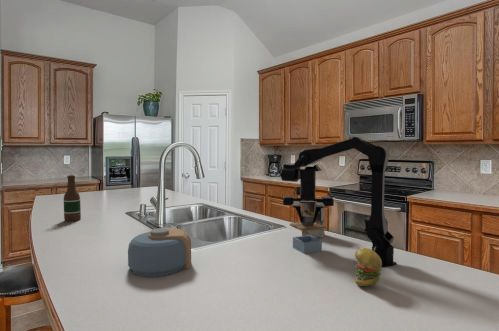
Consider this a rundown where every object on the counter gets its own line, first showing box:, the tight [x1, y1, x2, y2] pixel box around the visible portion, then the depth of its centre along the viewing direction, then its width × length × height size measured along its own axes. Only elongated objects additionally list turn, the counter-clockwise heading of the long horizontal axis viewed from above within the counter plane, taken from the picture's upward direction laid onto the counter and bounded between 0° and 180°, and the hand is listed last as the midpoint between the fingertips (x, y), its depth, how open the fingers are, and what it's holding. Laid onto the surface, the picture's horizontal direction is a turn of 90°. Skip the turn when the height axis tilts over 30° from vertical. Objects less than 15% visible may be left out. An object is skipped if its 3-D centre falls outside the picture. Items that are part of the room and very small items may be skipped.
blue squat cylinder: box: [127, 227, 192, 277], centre depth 106 cm, size 19×20×12 cm
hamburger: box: [354, 247, 382, 287], centre depth 91 cm, size 8×7×12 cm
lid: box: [289, 215, 327, 232], centre depth 123 cm, size 10×10×4 cm
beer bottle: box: [63, 174, 82, 223], centre depth 170 cm, size 8×8×24 cm
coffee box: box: [301, 203, 326, 239], centre depth 143 cm, size 9×6×16 cm
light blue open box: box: [292, 235, 323, 254], centre depth 123 cm, size 8×8×4 cm
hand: (307, 223), depth 123 cm, fingers closed on lid, 4 cm apart
